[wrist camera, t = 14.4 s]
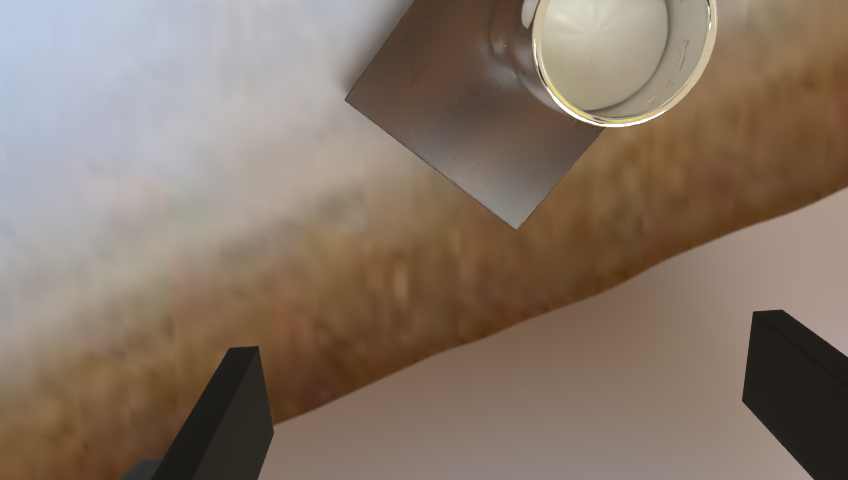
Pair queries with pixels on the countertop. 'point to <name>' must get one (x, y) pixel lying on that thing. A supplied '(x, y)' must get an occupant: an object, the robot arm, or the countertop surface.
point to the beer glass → (605, 54)
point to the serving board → (468, 109)
